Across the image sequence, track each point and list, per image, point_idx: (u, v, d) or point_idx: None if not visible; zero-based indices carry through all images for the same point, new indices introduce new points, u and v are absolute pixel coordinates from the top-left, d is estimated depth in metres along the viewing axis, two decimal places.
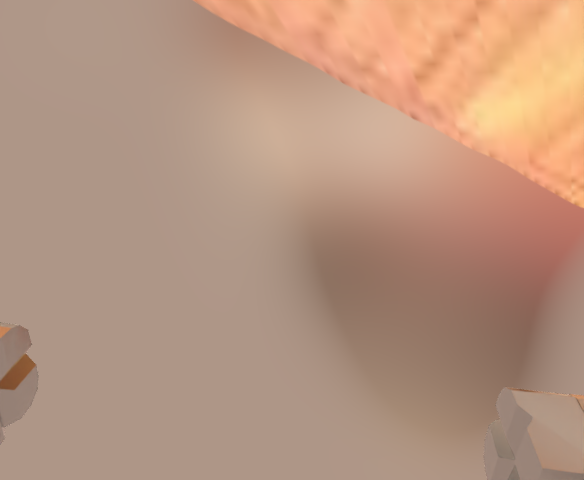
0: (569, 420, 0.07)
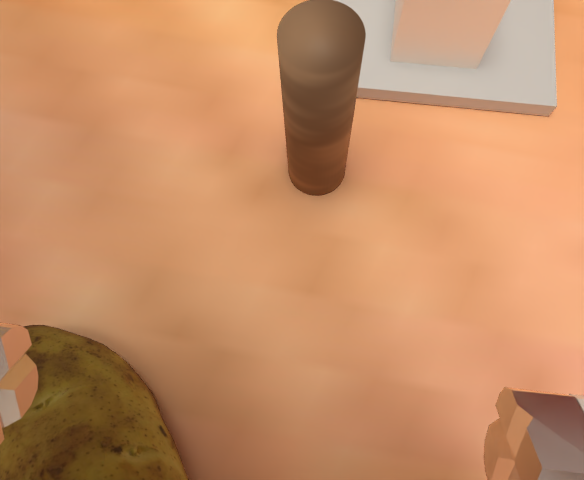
0: (569, 420, 0.07)
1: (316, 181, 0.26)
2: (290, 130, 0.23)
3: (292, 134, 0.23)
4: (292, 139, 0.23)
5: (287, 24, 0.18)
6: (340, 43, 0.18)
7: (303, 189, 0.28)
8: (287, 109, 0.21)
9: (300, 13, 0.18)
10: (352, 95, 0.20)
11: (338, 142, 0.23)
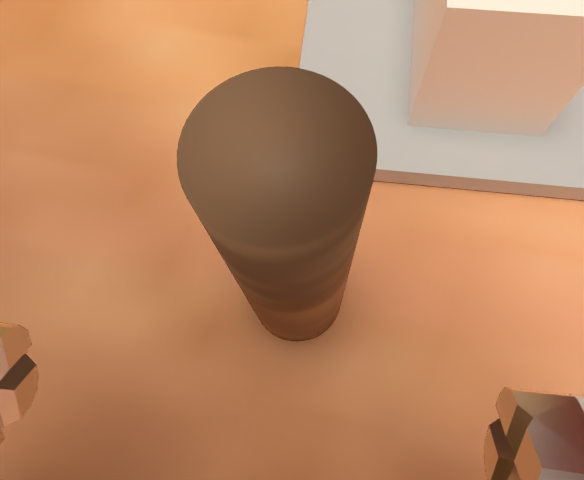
0: (569, 420, 0.07)
1: (293, 333, 0.16)
2: (239, 284, 0.12)
3: (243, 291, 0.13)
4: (245, 293, 0.13)
5: (202, 127, 0.08)
6: (319, 173, 0.08)
7: (276, 334, 0.18)
8: (226, 263, 0.11)
9: (231, 100, 0.08)
10: (350, 250, 0.10)
11: (325, 302, 0.13)
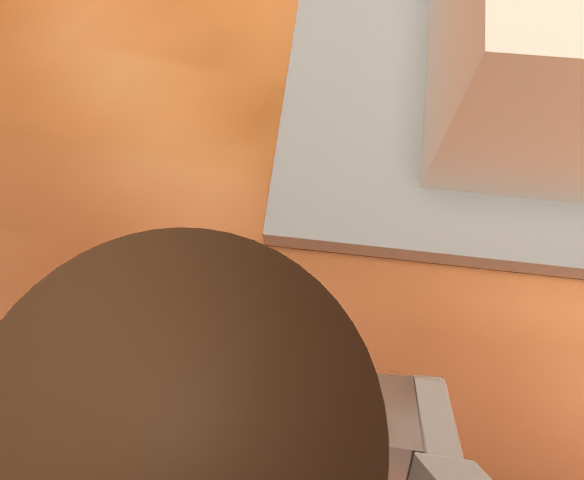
0: (397, 397, 0.07)
1: None
2: None
3: None
4: None
5: (9, 371, 0.04)
6: None
7: None
8: None
9: (78, 306, 0.04)
10: None
11: None
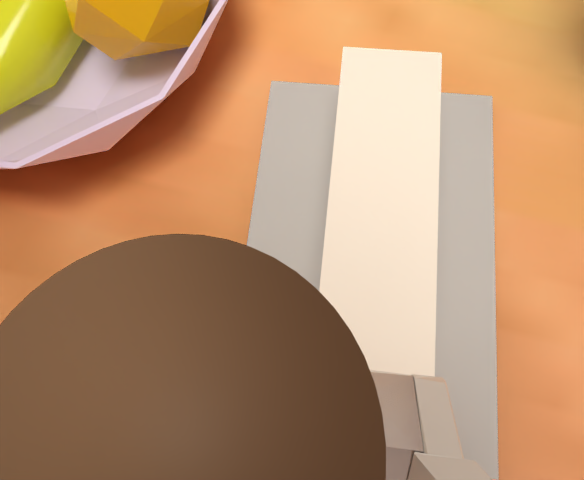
0: (397, 398, 0.07)
1: None
2: None
3: None
4: None
5: (5, 378, 0.04)
6: None
7: None
8: None
9: (75, 314, 0.04)
10: None
11: None
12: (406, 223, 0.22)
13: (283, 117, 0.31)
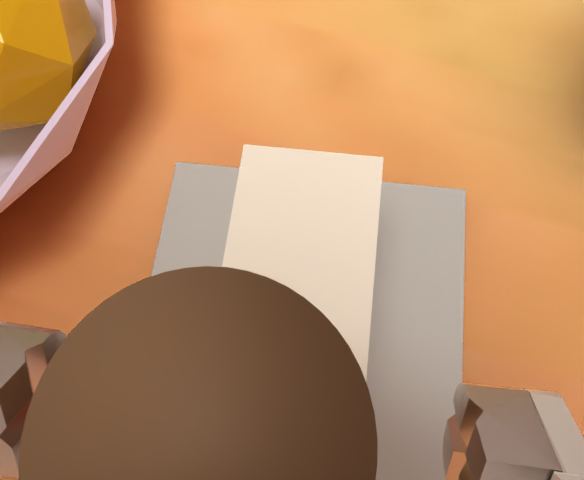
0: (519, 413, 0.07)
1: None
2: None
3: None
4: None
5: (69, 385, 0.05)
6: None
7: None
8: None
9: (126, 331, 0.05)
10: None
11: None
12: None
13: (188, 213, 0.24)
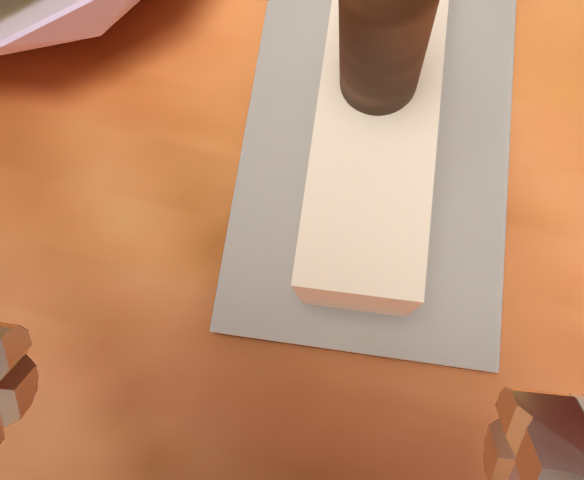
0: (569, 420, 0.07)
1: (381, 91, 0.19)
2: (349, 2, 0.15)
3: (352, 9, 0.15)
4: (351, 19, 0.16)
5: None
6: None
7: (361, 107, 0.20)
8: None
9: None
10: None
11: (421, 20, 0.15)
12: None
13: (286, 2, 0.29)
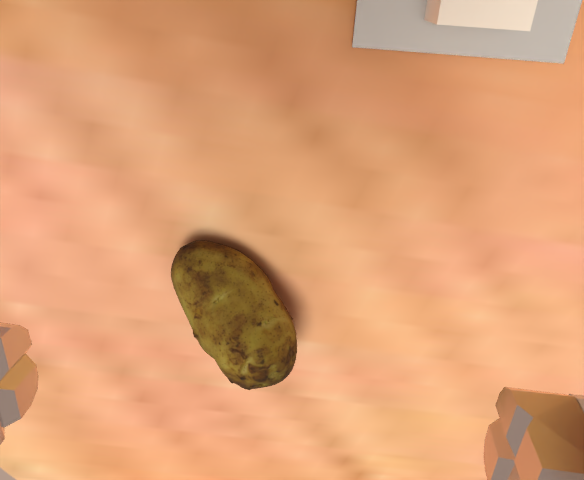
0: (569, 420, 0.07)
1: None
2: None
3: None
4: None
5: None
6: None
7: None
8: None
9: None
10: None
11: None
12: None
13: None
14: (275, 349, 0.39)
